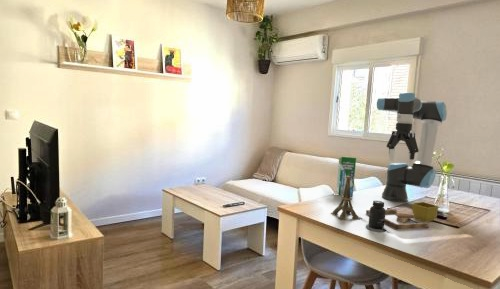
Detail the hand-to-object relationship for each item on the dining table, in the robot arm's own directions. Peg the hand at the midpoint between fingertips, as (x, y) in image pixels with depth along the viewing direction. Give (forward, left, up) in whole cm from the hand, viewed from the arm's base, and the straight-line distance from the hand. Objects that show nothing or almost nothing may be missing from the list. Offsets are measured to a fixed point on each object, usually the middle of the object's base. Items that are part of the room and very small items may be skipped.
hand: (400, 163), depth 170 cm
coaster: (+24, +16, -28) cm, 40 cm away
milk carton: (+2, -45, -28) cm, 53 cm away
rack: (+9, +11, -28) cm, 32 cm away
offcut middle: (+5, +12, -27) cm, 30 cm away
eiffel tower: (+29, -2, -28) cm, 41 cm away
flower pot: (-8, +11, -28) cm, 31 cm away
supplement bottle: (+24, +16, -28) cm, 40 cm away
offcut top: (+5, +12, -25) cm, 28 cm away
